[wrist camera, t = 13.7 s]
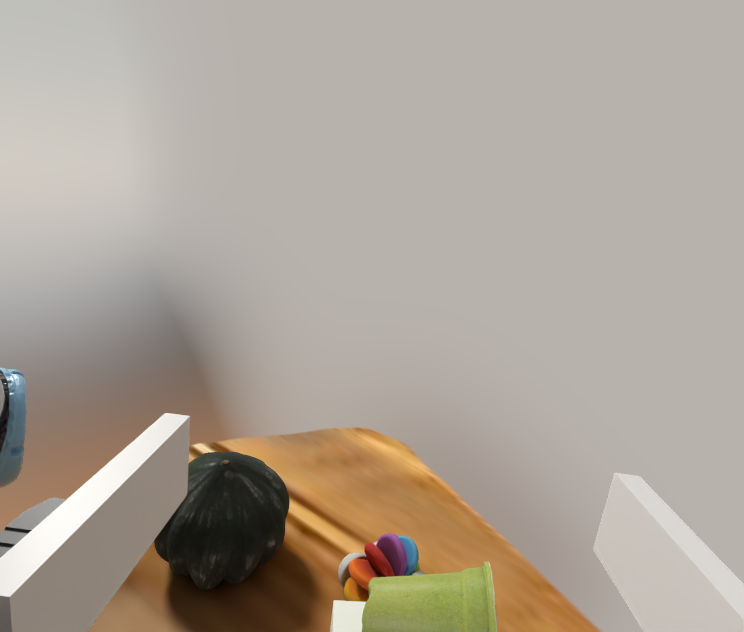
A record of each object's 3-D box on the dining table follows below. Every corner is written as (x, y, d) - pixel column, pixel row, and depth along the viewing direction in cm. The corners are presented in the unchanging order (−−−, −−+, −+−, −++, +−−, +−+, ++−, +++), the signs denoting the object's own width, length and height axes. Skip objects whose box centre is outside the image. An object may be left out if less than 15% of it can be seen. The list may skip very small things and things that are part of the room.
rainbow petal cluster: (324, 586, 50) (330, 531, 49) (390, 555, 56) (397, 504, 55) (369, 647, 44) (378, 584, 42) (438, 603, 50) (447, 548, 48)
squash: (231, 459, 63) (181, 411, 52) (322, 497, 58) (289, 454, 46) (168, 563, 56) (92, 535, 44) (266, 619, 50) (209, 603, 39)
